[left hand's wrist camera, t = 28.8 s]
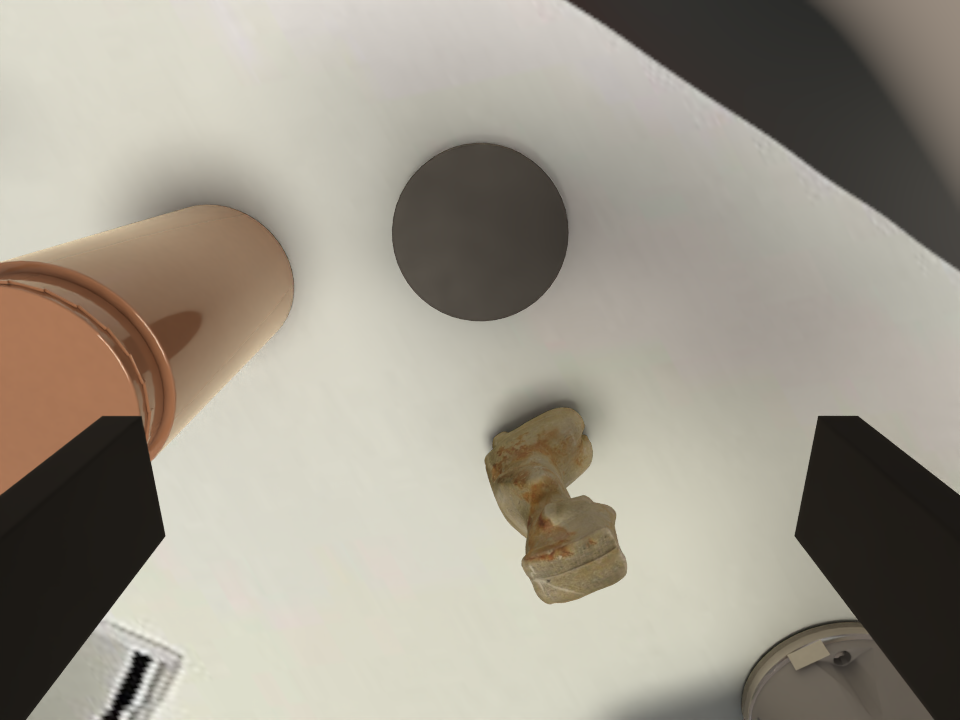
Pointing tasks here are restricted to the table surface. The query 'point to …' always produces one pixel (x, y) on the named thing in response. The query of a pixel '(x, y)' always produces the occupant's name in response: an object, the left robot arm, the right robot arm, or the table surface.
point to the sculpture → (555, 507)
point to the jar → (132, 327)
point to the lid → (480, 232)
